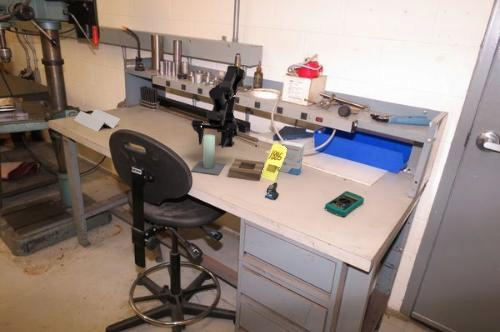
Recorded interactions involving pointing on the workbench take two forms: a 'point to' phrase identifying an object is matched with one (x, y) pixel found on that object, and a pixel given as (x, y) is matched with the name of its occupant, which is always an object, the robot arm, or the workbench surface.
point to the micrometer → (272, 192)
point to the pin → (208, 151)
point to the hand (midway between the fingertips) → (210, 146)
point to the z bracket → (96, 119)
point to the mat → (215, 171)
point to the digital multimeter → (344, 203)
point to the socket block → (246, 169)
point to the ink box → (293, 158)
